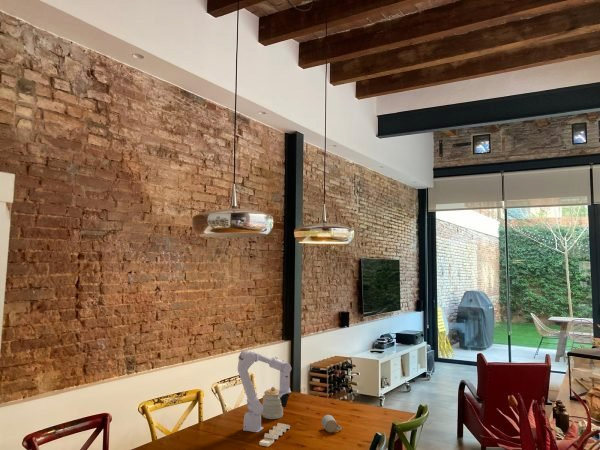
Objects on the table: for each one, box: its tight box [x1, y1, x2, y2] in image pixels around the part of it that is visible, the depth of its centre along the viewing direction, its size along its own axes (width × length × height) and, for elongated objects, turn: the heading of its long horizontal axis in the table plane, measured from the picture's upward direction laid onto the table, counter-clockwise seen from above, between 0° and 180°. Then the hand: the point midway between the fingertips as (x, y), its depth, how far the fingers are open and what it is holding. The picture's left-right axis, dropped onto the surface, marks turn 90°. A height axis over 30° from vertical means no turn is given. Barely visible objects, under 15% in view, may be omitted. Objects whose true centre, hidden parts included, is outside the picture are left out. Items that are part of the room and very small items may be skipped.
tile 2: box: [272, 425, 287, 433], centre depth 255 cm, size 5×2×7 cm
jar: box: [261, 386, 284, 420], centre depth 285 cm, size 13×13×18 cm
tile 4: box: [263, 432, 280, 440], centre depth 244 cm, size 5×2×7 cm
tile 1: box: [276, 422, 291, 430], centre depth 260 cm, size 5×2×7 cm
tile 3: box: [268, 429, 284, 436], centre depth 249 cm, size 5×2×7 cm
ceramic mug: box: [321, 414, 342, 433], centre depth 261 cm, size 11×8×8 cm
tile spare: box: [259, 437, 275, 447], centre depth 239 cm, size 5×2×7 cm
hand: (284, 406), depth 269 cm, fingers closed
